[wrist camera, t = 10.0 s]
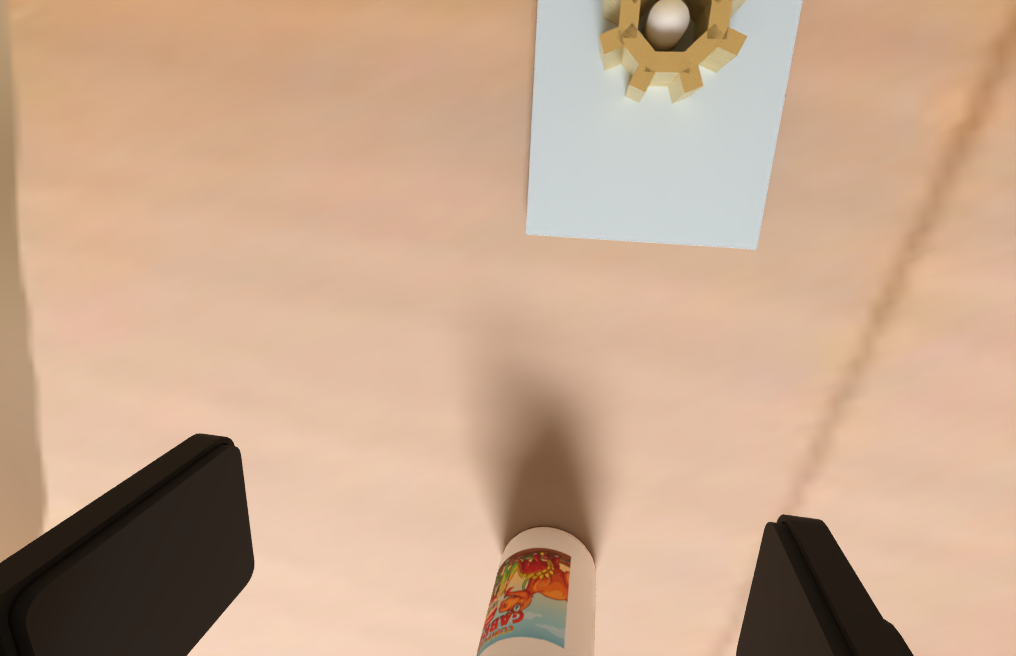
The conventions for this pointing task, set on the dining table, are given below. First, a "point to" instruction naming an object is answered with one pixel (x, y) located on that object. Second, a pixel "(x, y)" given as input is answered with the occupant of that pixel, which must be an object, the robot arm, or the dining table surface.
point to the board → (655, 130)
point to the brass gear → (678, 71)
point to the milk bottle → (542, 598)
